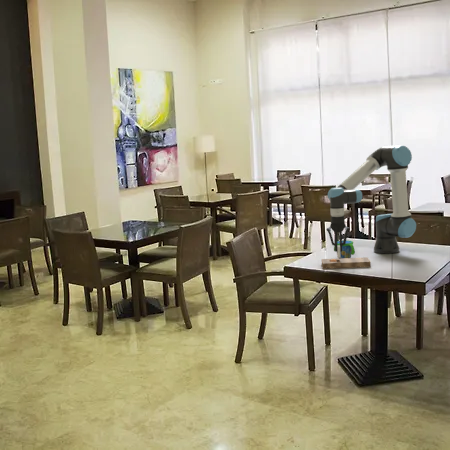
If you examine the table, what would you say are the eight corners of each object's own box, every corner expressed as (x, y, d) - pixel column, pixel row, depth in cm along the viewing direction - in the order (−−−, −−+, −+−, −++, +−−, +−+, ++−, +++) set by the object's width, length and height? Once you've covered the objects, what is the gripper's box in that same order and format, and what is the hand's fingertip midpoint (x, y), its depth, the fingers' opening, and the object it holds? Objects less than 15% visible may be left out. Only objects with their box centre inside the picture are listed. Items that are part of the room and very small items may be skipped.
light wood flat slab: (367, 262, 331) (367, 257, 330) (370, 267, 319) (370, 261, 318) (321, 264, 334) (321, 259, 333) (322, 268, 322) (322, 263, 322)
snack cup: (359, 259, 340) (359, 242, 339) (345, 262, 336) (344, 244, 334) (343, 255, 354) (343, 239, 353) (329, 257, 350) (328, 241, 348)
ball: (338, 262, 328) (333, 257, 328) (338, 263, 324) (334, 258, 324) (332, 266, 329) (328, 261, 329) (333, 268, 325) (328, 262, 325)
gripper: (326, 217, 320) (327, 259, 323) (350, 216, 318) (351, 258, 322) (325, 215, 327) (326, 256, 330) (348, 214, 326) (350, 255, 329)
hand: (339, 257), depth 326 cm, fingers closed
